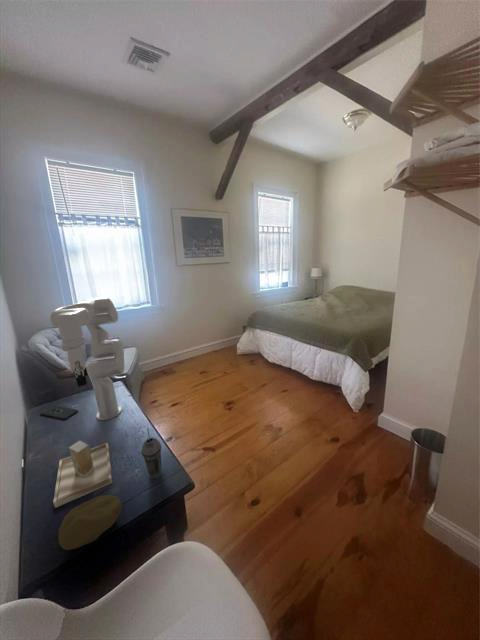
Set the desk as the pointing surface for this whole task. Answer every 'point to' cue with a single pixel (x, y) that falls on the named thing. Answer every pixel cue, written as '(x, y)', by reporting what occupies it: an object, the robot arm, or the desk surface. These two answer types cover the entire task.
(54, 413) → the smart home device
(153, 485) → the desk surface
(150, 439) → the beverage cup
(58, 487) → the birch tray
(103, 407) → the robot arm
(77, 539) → the decorative stone
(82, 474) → the skincare box
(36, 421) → the desk surface
